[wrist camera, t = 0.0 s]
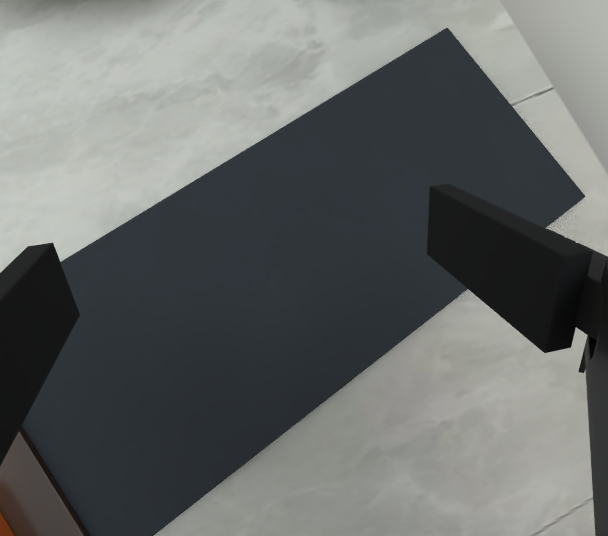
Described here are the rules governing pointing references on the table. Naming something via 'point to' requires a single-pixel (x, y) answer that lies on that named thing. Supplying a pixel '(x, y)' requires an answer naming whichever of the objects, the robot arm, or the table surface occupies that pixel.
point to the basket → (34, 495)
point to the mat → (272, 285)
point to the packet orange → (4, 527)
